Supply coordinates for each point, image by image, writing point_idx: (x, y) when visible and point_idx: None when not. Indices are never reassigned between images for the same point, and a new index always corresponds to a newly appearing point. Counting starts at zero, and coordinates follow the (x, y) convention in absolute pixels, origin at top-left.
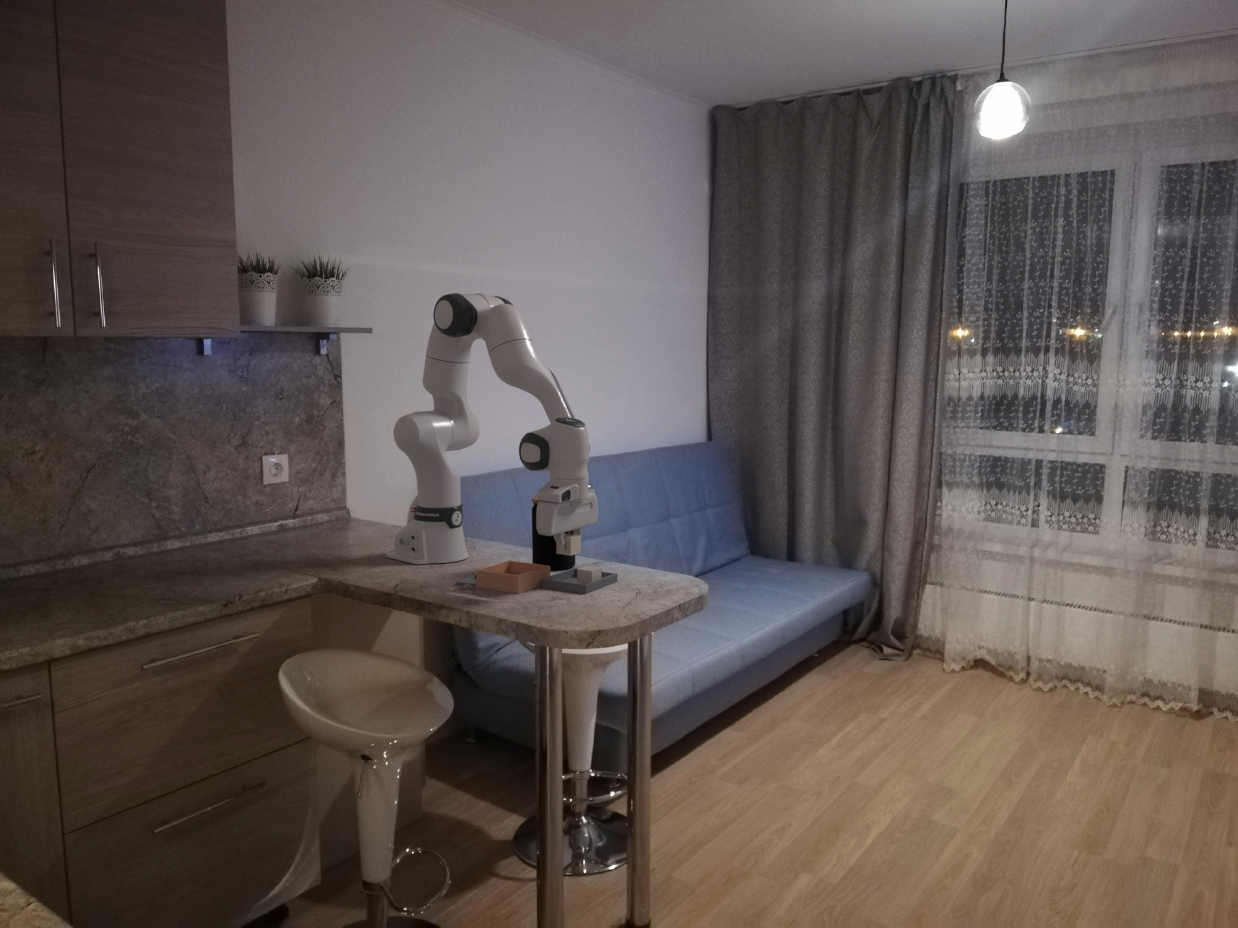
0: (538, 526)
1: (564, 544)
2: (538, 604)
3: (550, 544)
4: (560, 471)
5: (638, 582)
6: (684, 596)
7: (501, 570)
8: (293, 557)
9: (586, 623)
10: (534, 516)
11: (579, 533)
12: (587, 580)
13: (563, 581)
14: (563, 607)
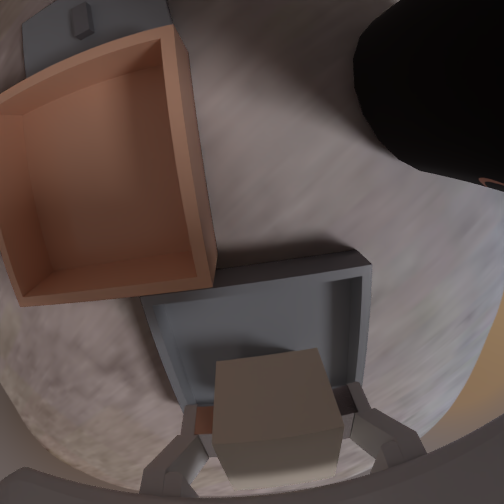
0: (3, 500)
1: (206, 453)
2: (61, 364)
3: (432, 120)
4: None
5: (386, 398)
6: (319, 481)
7: (108, 66)
8: None
9: (86, 460)
10: None
11: (375, 454)
12: None
13: (170, 372)
14: (95, 411)
